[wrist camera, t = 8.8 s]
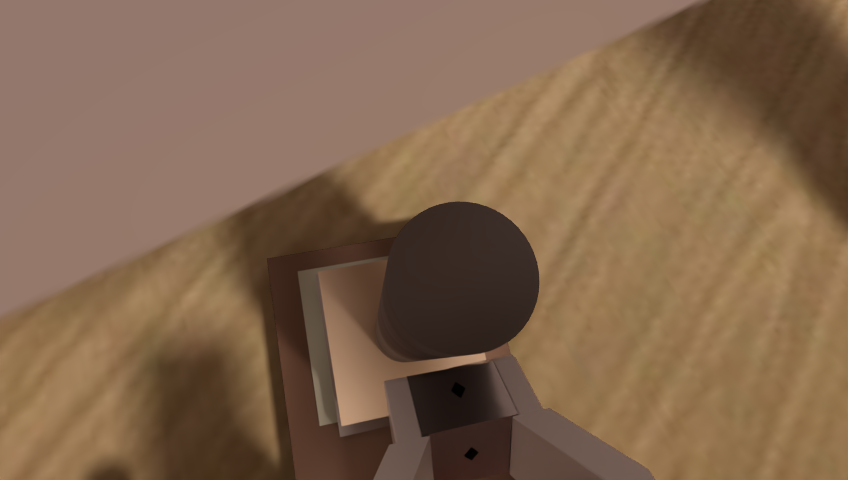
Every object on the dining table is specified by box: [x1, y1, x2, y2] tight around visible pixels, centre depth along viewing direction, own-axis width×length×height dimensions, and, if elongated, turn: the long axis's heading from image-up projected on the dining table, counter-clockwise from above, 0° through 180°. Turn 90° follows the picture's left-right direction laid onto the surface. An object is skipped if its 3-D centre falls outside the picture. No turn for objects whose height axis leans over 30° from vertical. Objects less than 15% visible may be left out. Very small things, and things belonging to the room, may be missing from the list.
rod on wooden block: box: [315, 202, 539, 437], centre depth 17 cm, size 7×8×19 cm
